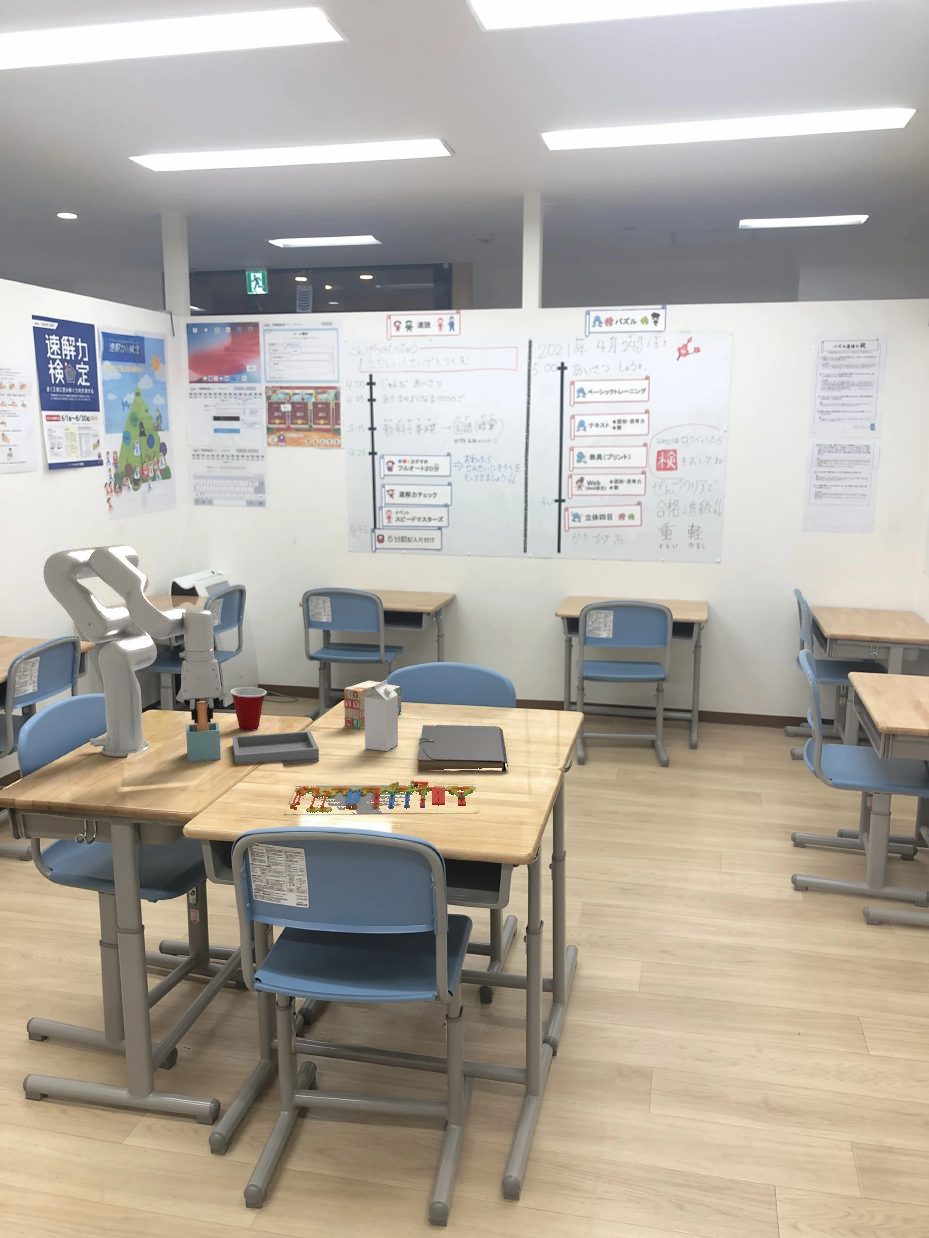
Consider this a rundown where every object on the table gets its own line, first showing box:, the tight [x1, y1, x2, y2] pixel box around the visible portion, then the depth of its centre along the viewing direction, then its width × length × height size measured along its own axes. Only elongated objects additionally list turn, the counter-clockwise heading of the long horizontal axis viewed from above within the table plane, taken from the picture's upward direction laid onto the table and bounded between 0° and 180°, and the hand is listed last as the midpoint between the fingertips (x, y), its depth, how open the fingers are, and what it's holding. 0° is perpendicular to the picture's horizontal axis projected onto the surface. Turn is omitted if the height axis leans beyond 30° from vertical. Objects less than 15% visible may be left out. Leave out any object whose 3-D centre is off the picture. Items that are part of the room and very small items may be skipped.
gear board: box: [290, 780, 477, 815], centre depth 222 cm, size 45×2×19 cm
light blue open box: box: [185, 721, 222, 763], centre depth 251 cm, size 9×9×9 cm
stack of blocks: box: [343, 680, 402, 730], centre depth 292 cm, size 21×6×12 cm, turn 147°
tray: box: [231, 730, 320, 766], centre depth 256 cm, size 22×18×4 cm
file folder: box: [416, 724, 509, 771], centre depth 259 cm, size 33×4×24 cm
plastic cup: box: [230, 686, 267, 731], centre depth 281 cm, size 11×11×12 cm
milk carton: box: [364, 679, 399, 752], centre depth 262 cm, size 7×7×19 cm
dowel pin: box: [195, 700, 209, 731], centre depth 250 cm, size 3×3×15 cm
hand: (202, 721), depth 250 cm, fingers closed on dowel pin, 3 cm apart
